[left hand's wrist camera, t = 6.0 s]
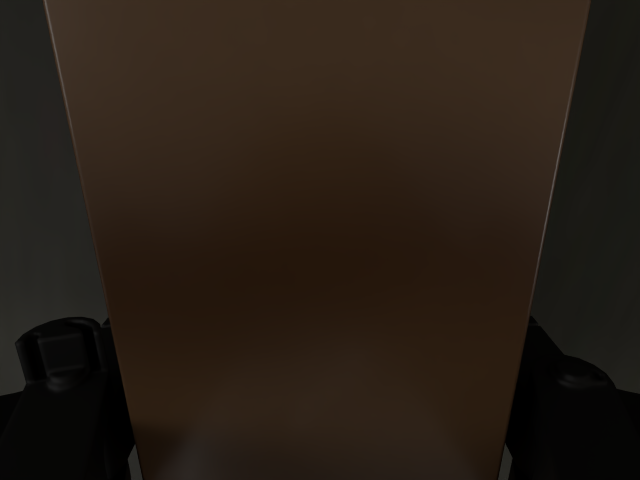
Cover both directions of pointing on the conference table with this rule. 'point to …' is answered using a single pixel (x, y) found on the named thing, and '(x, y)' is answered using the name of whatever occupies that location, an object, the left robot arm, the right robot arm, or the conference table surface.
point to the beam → (318, 222)
